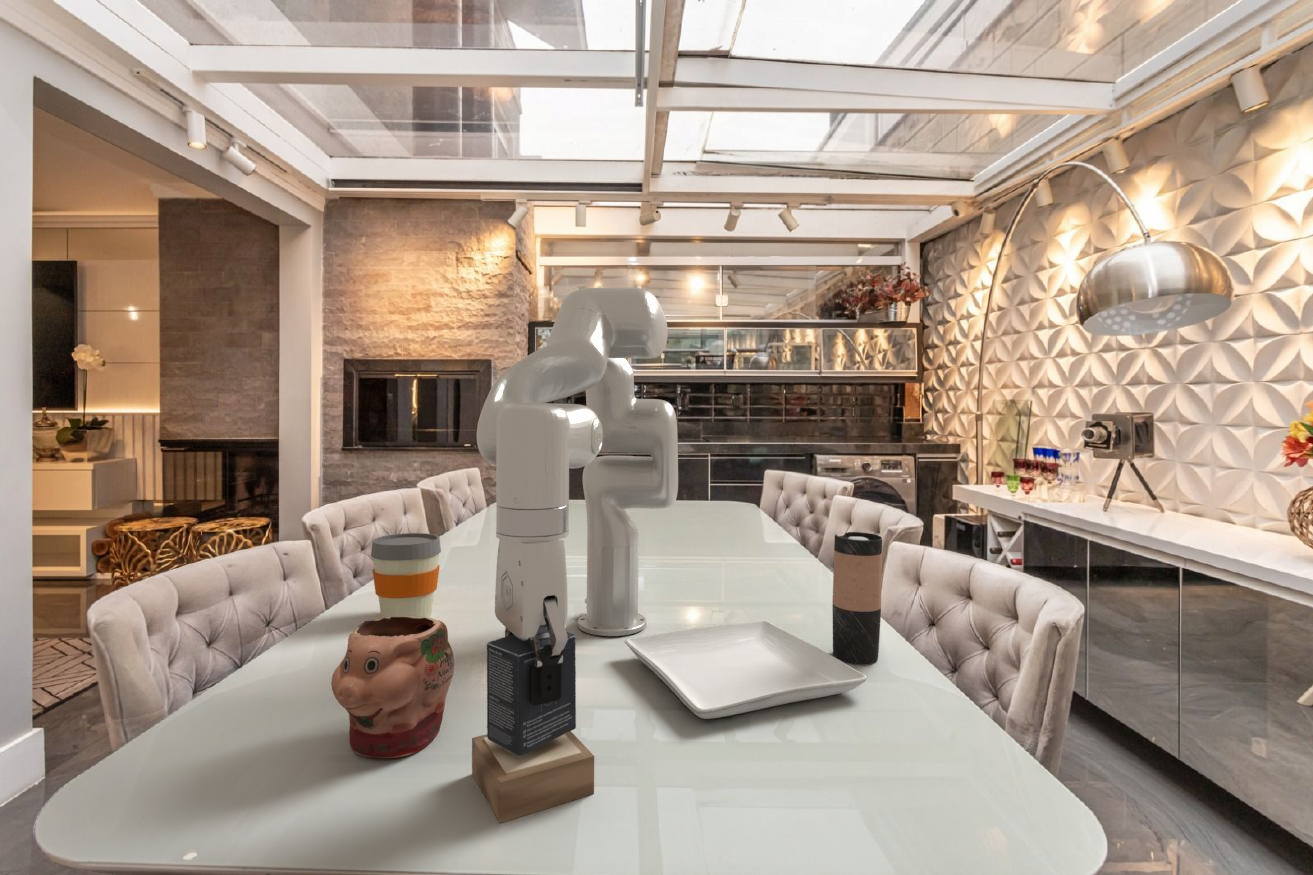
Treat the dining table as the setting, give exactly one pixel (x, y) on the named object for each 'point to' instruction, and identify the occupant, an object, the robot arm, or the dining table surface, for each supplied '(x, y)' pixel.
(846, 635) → the travel mug
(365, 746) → the decorative planter
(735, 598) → the dining table surface
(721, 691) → the square plate
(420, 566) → the reusable coffee cup
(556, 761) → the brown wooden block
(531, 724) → the box
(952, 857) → the dining table surface
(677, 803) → the dining table surface
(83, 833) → the dining table surface
